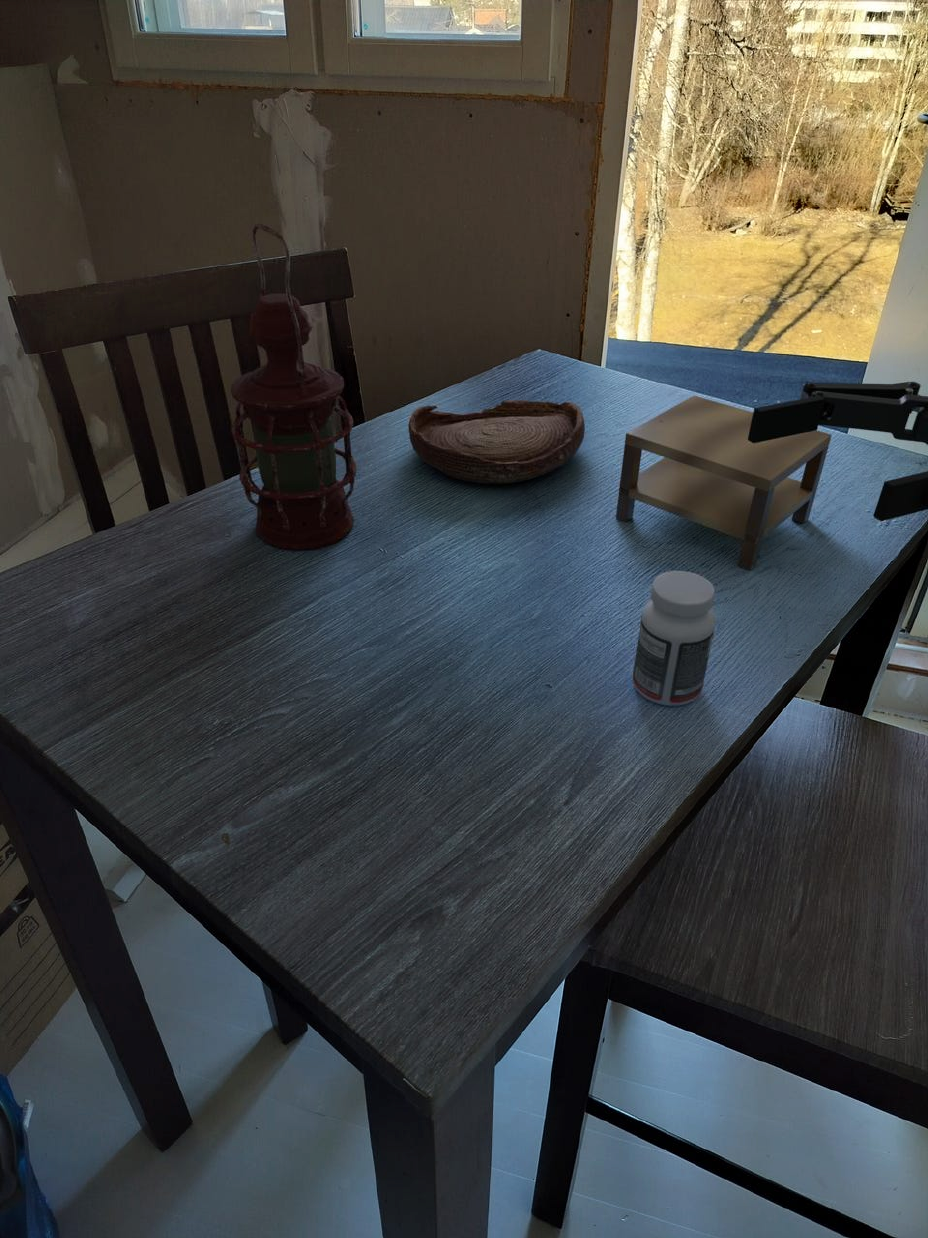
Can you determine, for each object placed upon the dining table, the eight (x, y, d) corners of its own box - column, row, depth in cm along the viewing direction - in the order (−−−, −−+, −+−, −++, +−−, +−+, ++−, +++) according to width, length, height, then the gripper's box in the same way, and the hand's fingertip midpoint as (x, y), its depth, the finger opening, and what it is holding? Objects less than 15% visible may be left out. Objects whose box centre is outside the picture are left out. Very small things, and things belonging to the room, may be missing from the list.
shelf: (808, 519, 94) (832, 434, 88) (749, 570, 85) (771, 480, 79) (680, 475, 102) (693, 395, 96) (615, 518, 94) (625, 432, 88)
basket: (526, 408, 118) (528, 373, 116) (620, 462, 105) (625, 425, 102) (382, 444, 109) (380, 407, 106) (465, 509, 95) (465, 469, 92)
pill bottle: (699, 668, 73) (720, 570, 67) (703, 712, 68) (726, 612, 62) (631, 661, 73) (646, 563, 68) (630, 704, 69) (646, 604, 63)
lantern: (381, 533, 91) (362, 231, 73) (275, 568, 85) (226, 249, 68) (330, 489, 99) (302, 207, 81) (230, 517, 93) (176, 222, 76)
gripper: (1145, 525, 63) (931, 590, 56) (887, 403, 81) (703, 441, 74) (1198, 430, 58) (971, 488, 51) (912, 324, 77) (718, 356, 70)
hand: (812, 460), depth 63 cm, fingers open, 13 cm apart
